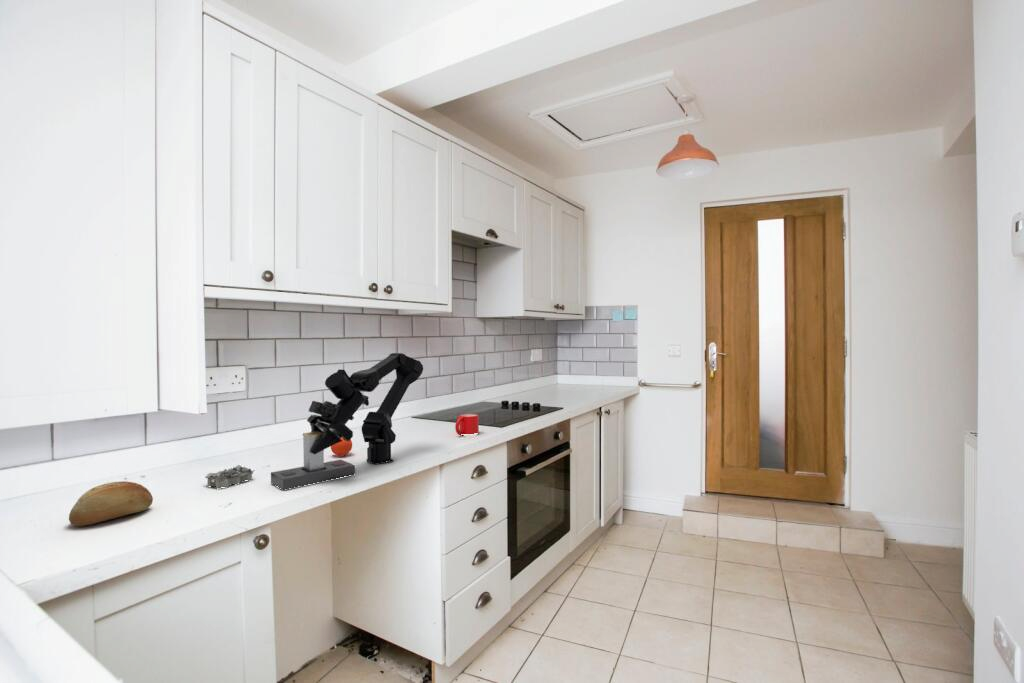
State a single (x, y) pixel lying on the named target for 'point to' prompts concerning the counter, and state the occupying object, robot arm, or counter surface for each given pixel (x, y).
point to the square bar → (312, 460)
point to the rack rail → (311, 474)
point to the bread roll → (109, 503)
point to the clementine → (342, 447)
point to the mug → (467, 424)
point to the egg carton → (229, 476)
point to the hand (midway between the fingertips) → (309, 451)
